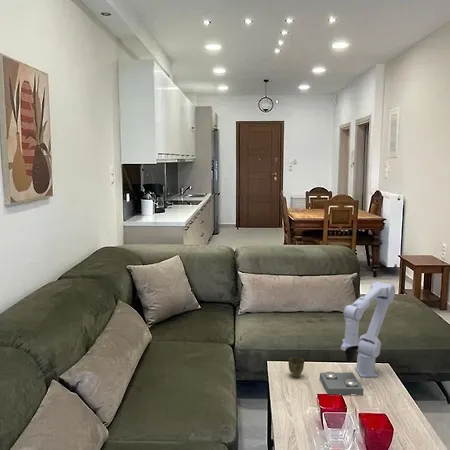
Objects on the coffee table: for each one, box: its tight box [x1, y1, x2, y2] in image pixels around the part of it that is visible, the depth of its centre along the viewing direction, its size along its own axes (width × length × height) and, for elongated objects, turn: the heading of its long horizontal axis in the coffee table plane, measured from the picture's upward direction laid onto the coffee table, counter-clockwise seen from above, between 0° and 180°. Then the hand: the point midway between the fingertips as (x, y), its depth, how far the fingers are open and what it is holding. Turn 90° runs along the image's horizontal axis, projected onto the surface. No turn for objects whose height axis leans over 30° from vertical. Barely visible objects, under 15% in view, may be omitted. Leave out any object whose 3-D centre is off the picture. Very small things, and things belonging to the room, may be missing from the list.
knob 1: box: [324, 371, 337, 379], centre depth 211 cm, size 5×5×4 cm
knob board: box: [319, 371, 364, 396], centre depth 208 cm, size 15×15×3 cm
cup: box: [287, 356, 305, 378], centre depth 217 cm, size 8×7×8 cm
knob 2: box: [345, 379, 357, 387], centre depth 204 cm, size 5×5×4 cm
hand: (349, 361), depth 210 cm, fingers closed
